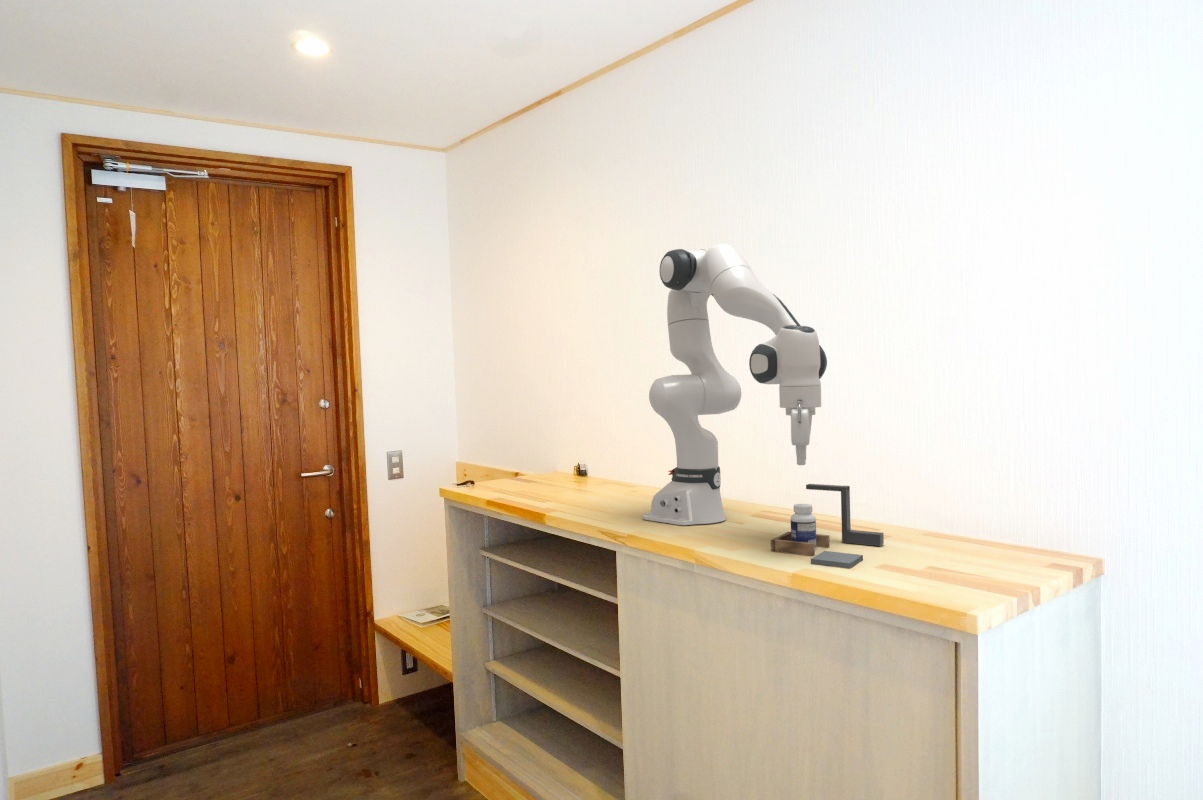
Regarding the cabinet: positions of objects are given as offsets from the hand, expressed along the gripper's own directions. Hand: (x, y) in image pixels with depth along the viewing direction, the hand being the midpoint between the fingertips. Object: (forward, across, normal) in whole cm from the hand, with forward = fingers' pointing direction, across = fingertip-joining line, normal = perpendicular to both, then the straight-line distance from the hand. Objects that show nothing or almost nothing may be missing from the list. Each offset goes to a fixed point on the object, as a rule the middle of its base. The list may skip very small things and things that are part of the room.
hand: (801, 462), depth 171 cm
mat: (+19, -11, -7) cm, 23 cm away
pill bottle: (+19, 0, 0) cm, 19 cm away
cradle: (+19, 0, 0) cm, 19 cm away
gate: (+19, +8, -9) cm, 22 cm away
